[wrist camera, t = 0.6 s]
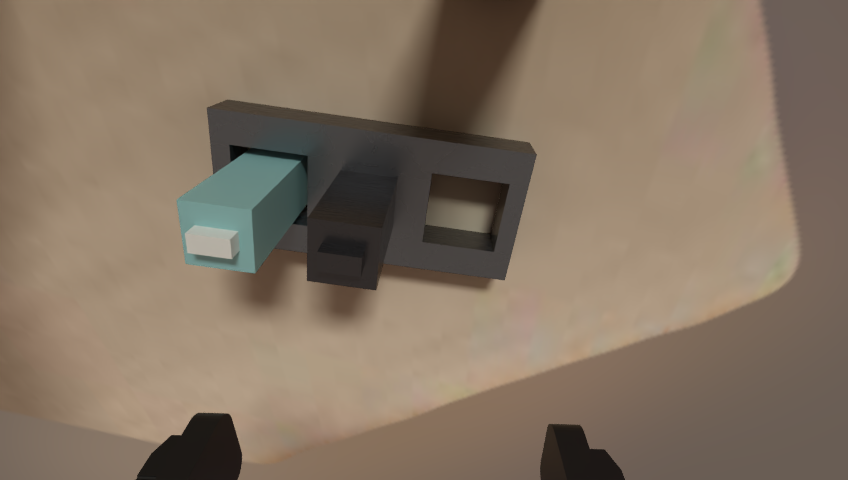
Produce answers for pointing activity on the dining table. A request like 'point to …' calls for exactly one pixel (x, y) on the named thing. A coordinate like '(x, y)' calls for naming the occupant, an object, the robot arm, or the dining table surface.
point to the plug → (243, 210)
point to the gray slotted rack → (379, 190)
